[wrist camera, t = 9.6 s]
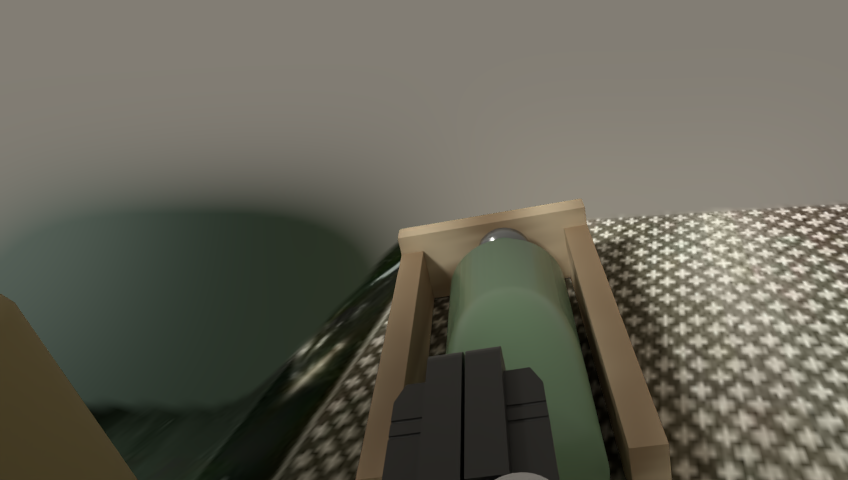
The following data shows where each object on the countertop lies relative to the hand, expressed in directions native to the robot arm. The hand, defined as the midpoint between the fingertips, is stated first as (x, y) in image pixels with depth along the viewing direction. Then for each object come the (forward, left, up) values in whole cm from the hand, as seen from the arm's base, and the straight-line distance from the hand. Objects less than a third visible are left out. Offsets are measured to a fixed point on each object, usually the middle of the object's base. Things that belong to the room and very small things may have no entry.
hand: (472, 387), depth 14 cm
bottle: (0, +5, -7) cm, 9 cm away
